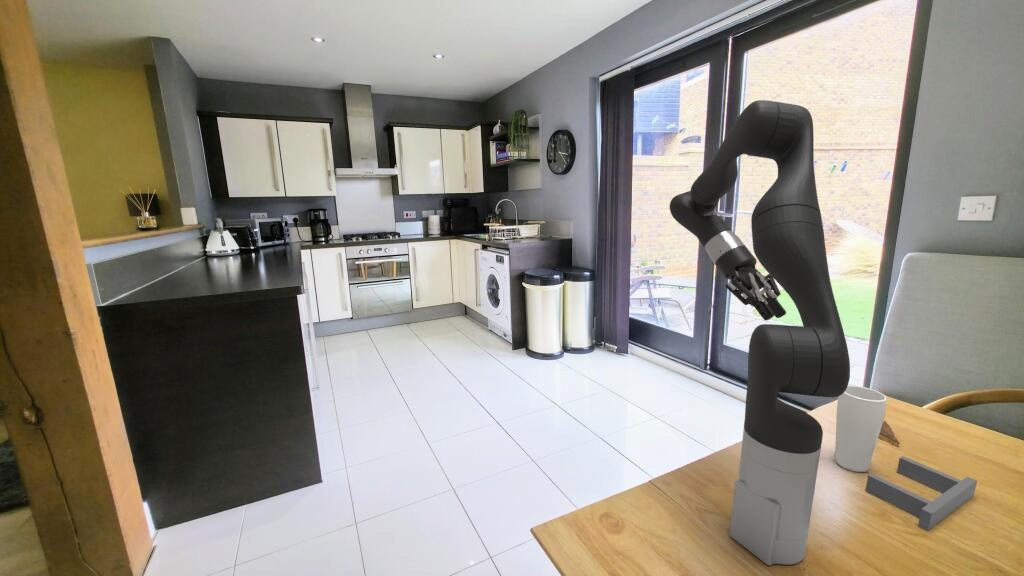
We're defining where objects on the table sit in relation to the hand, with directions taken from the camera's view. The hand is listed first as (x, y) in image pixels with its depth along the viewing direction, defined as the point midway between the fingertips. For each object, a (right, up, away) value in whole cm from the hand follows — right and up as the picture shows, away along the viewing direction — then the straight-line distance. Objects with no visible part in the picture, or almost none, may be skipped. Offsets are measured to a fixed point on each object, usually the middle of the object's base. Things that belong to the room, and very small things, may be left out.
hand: (776, 316), depth 87 cm
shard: (+25, -26, +4) cm, 37 cm away
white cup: (+9, -28, -8) cm, 31 cm away
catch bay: (+13, -30, -17) cm, 36 cm away
